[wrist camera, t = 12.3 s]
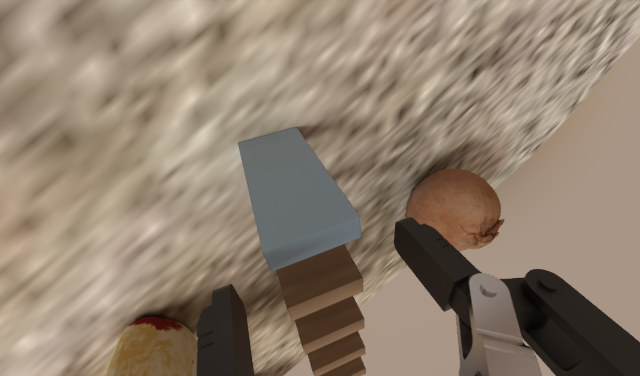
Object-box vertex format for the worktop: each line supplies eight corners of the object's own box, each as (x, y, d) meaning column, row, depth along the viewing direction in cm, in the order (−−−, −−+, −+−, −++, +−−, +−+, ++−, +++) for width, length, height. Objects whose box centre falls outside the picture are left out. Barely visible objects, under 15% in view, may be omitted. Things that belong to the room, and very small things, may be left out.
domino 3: (315, 227, 30) (364, 327, 21) (273, 242, 29) (305, 354, 20) (313, 217, 29) (364, 318, 20) (270, 232, 28) (302, 346, 19)
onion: (443, 137, 29) (529, 186, 21) (460, 183, 35) (532, 235, 27) (376, 191, 30) (434, 256, 22) (403, 227, 36) (457, 288, 28)
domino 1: (237, 142, 21) (262, 252, 12) (296, 126, 22) (360, 216, 13) (244, 159, 22) (271, 271, 13) (299, 143, 23) (361, 237, 14)
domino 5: (325, 280, 36) (365, 373, 27) (292, 293, 36) (321, 395, 26) (324, 274, 36) (365, 368, 26) (290, 287, 35) (320, 390, 25)
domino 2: (308, 191, 26) (363, 291, 17) (261, 206, 25) (292, 321, 16) (306, 178, 25) (362, 277, 16) (256, 193, 24) (287, 308, 15)
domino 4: (321, 256, 33) (365, 353, 24) (284, 270, 32) (315, 377, 23) (319, 248, 32) (364, 347, 23) (281, 263, 31) (312, 371, 22)
